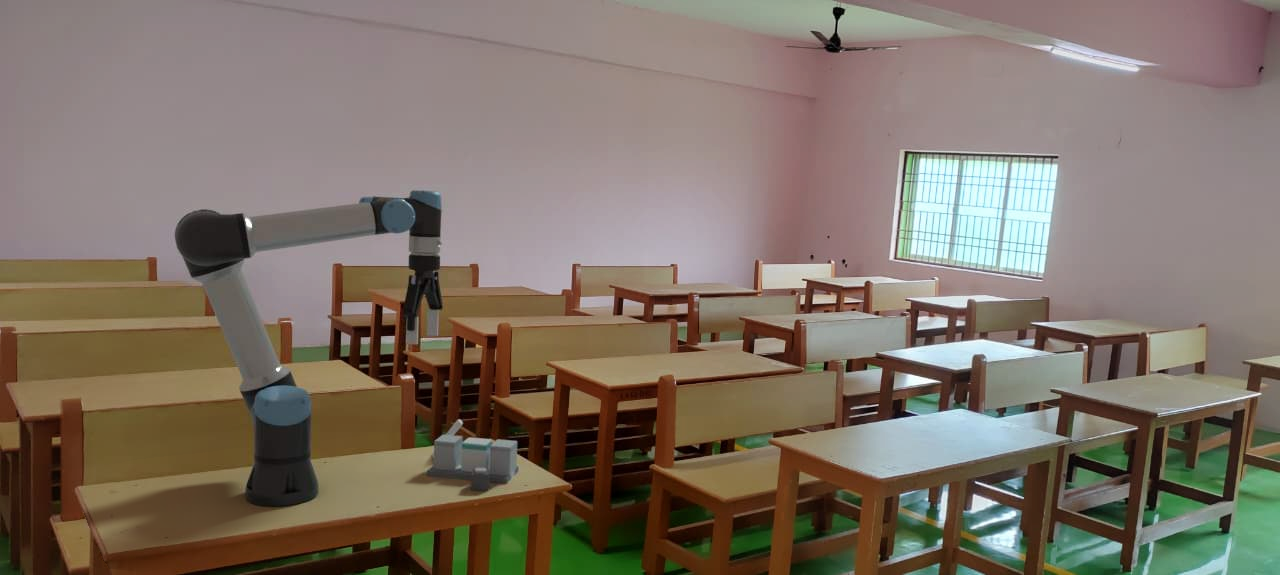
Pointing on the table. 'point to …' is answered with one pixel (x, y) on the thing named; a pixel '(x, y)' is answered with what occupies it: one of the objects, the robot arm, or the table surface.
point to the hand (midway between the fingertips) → (422, 339)
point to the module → (475, 454)
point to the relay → (480, 479)
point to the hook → (453, 429)
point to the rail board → (451, 459)
